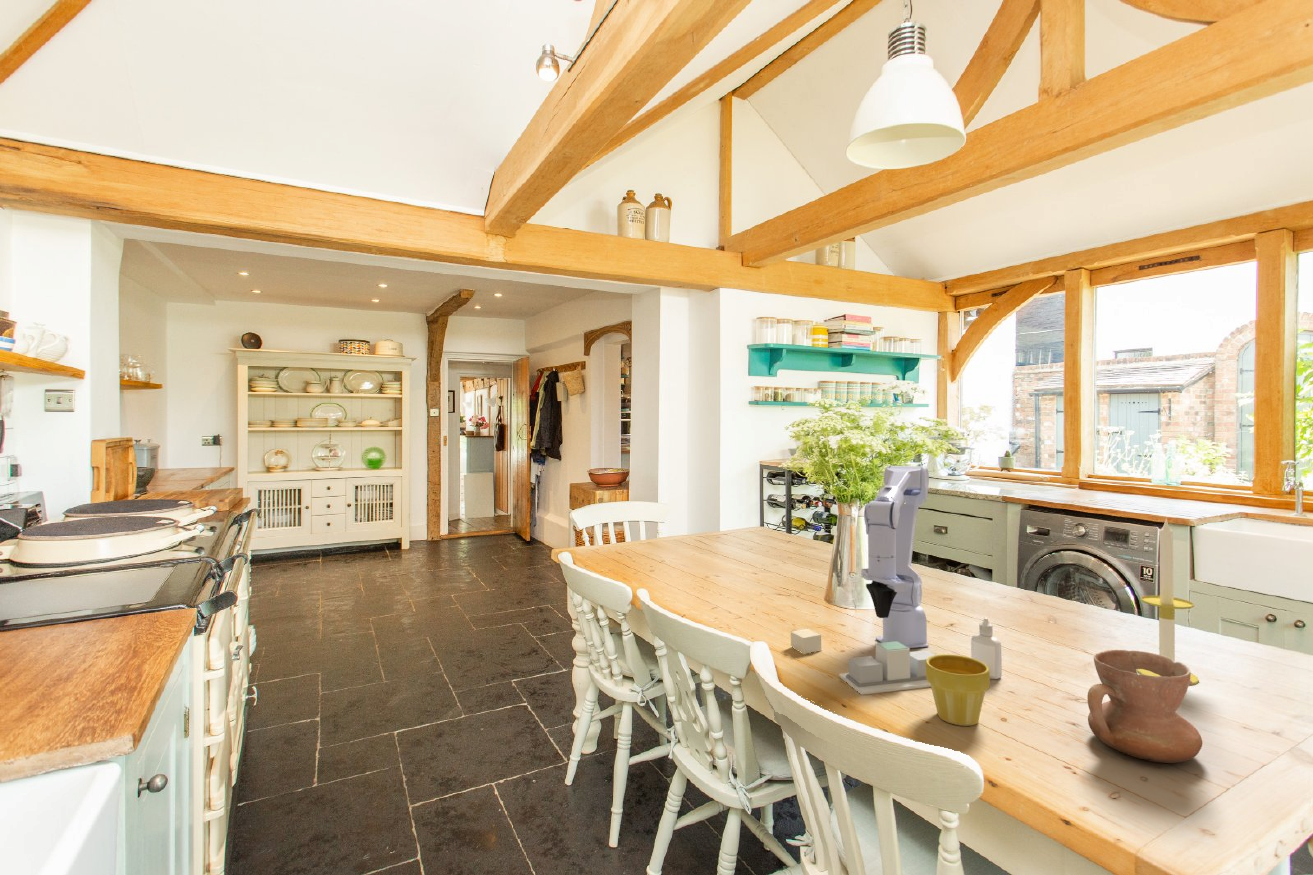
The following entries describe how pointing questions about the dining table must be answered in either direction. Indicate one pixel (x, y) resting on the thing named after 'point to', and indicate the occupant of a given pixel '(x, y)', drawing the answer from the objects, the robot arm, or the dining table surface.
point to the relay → (806, 640)
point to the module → (893, 660)
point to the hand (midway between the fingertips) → (882, 617)
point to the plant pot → (958, 687)
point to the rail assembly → (870, 678)
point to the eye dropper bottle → (987, 649)
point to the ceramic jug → (1142, 706)
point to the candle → (1166, 601)
